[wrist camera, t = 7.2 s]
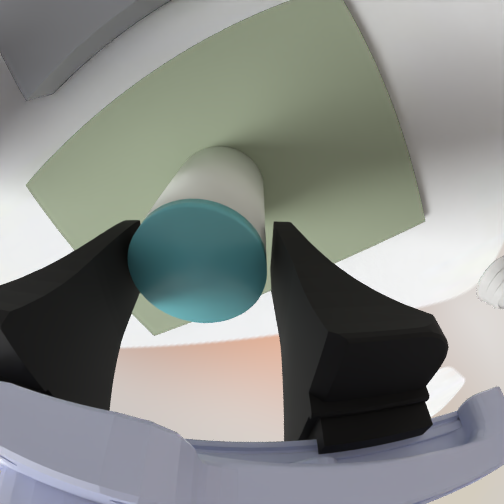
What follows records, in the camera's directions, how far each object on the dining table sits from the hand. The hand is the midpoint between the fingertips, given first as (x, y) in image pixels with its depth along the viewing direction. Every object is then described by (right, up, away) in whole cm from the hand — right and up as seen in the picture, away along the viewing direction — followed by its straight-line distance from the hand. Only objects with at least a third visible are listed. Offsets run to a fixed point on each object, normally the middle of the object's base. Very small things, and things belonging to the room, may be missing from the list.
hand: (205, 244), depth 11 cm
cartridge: (0, +3, +4) cm, 5 cm away
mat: (0, +3, +5) cm, 6 cm away
